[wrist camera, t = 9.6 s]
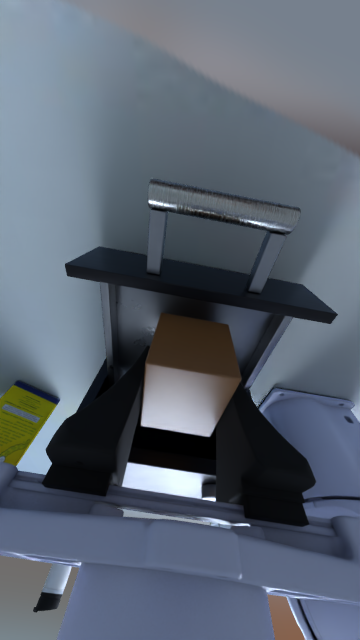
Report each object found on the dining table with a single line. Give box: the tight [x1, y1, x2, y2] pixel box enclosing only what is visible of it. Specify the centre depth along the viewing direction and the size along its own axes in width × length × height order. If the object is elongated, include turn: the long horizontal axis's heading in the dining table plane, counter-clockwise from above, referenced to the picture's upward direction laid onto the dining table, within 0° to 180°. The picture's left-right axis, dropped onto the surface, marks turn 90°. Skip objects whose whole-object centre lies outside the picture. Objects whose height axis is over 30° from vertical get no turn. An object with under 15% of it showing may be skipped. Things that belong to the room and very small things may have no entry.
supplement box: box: [0, 381, 60, 466], centre depth 22 cm, size 6×6×11 cm
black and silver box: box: [76, 358, 252, 501], centre depth 20 cm, size 16×14×10 cm
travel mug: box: [33, 564, 72, 612], centre depth 63 cm, size 6×7×20 cm
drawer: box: [65, 178, 338, 392], centre depth 14 cm, size 15×18×4 cm
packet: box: [140, 313, 241, 437], centre depth 12 cm, size 5×6×4 cm
